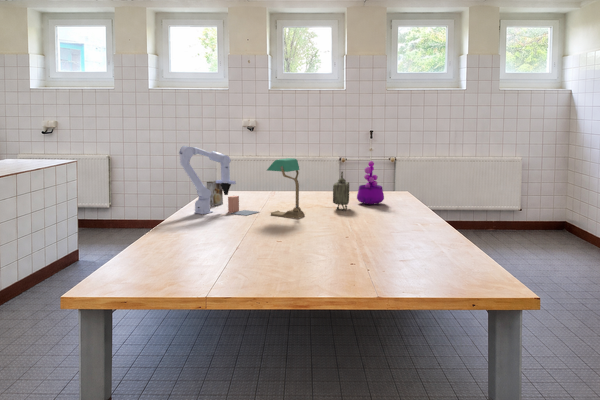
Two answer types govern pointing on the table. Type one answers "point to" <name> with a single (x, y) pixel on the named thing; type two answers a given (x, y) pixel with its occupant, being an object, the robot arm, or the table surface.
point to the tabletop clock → (341, 192)
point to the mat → (245, 212)
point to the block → (233, 204)
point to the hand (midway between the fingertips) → (226, 194)
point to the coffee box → (215, 193)
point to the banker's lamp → (288, 166)
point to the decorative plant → (370, 188)
